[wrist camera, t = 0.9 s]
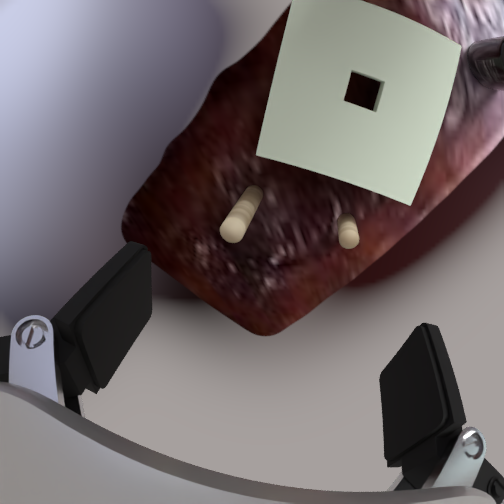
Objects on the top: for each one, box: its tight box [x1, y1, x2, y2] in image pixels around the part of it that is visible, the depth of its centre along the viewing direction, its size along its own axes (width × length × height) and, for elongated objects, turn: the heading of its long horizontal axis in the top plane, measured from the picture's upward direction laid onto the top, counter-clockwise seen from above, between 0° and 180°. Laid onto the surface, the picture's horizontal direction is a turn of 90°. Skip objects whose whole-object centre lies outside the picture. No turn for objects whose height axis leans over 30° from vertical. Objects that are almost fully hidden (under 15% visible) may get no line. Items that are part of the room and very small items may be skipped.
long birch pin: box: [220, 185, 263, 243], centre depth 34 cm, size 2×2×11 cm
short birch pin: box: [337, 213, 359, 249], centre depth 36 cm, size 2×2×5 cm
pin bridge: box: [256, 0, 462, 206], centre depth 26 cm, size 20×18×6 cm
